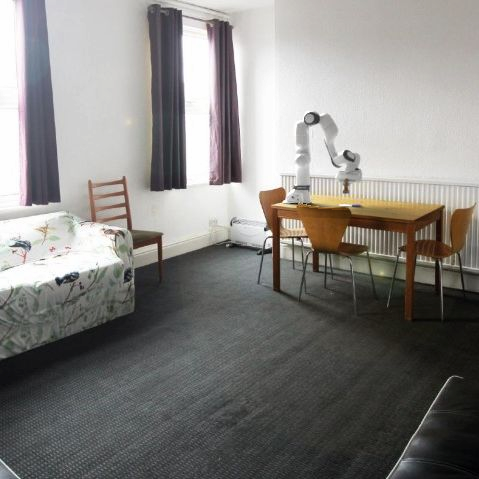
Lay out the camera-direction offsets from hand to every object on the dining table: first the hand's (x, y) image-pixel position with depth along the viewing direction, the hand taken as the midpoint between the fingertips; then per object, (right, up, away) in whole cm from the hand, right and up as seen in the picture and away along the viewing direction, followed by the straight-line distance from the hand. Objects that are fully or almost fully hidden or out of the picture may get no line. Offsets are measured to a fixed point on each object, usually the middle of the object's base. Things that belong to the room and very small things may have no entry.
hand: (345, 185), depth 432 cm
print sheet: (0, -15, +4) cm, 15 cm away
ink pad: (+8, -15, 0) cm, 17 cm away
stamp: (0, -6, +2) cm, 6 cm away
